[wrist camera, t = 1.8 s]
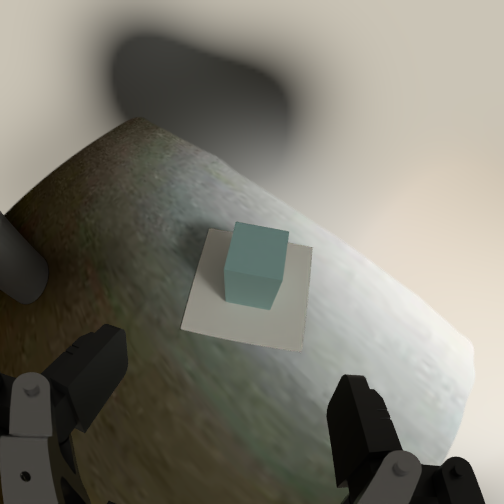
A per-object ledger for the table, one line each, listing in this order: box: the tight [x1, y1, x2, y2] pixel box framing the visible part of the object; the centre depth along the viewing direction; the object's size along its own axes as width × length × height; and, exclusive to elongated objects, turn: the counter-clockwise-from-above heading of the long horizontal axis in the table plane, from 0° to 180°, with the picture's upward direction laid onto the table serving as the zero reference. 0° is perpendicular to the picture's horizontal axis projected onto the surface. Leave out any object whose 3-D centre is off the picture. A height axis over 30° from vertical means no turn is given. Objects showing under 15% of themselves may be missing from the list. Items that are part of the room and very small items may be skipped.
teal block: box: [224, 222, 289, 310], centre depth 33 cm, size 6×6×10 cm
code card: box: [181, 228, 312, 352], centre depth 38 cm, size 16×16×1 cm
